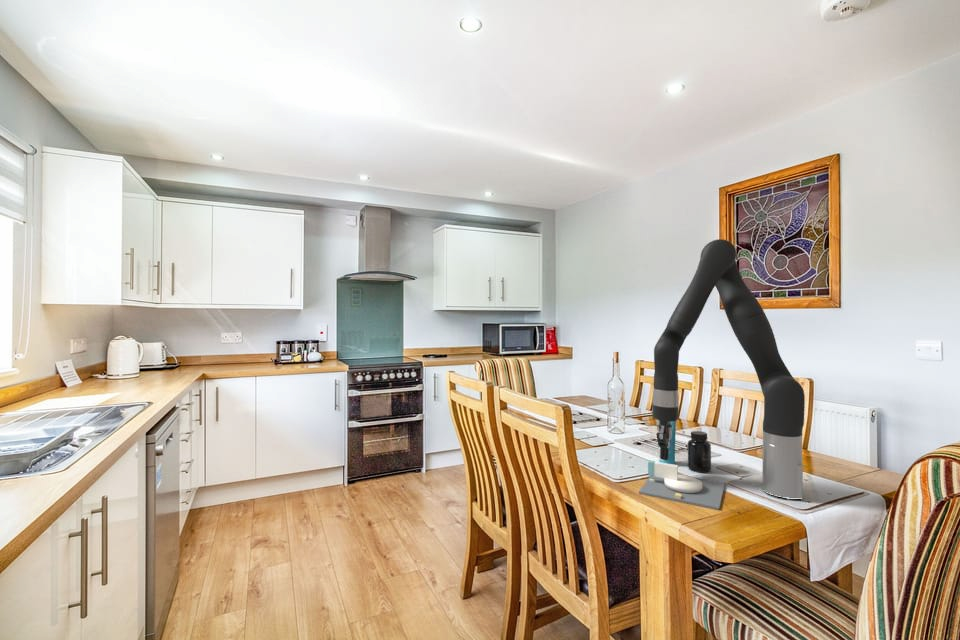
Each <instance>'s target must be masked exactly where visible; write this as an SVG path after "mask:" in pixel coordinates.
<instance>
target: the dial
mask: <svg viewBox="0 0 960 640" xmlns="http://www.w3.org/2000/svg"><path fill="white" fill-rule="evenodd" d="M678 474H679V465H677V464H674V465H673V464H667V463H661V462H659V461H655V460H648V462H647V476H648V477H650V476H653V477H660V478H664V484H665V486H666V487H668V488H670V489H672V490H675V491H679V492H684V493H697V492H700V491H702V482H701V481H700V480H698V479H696V478H697V477H696V478H694V476H690V475H685V474H679V475H678Z"/></svg>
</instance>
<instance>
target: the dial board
mask: <svg viewBox="0 0 960 640" xmlns="http://www.w3.org/2000/svg"><path fill="white" fill-rule="evenodd" d="M678 475H680V474H679V473H678ZM693 477H694V476H693ZM694 478H696V479H698V480H700V481H701V482H702V491H700V492H697V493H684V492H679V491H675V490H672V489H670V488H668V487H666V486H665V484H664V478H660V477H653V476H648V478H647V480H646V481H645V482H644V484H643V485H642V486H641V488H640V489H639V491H638V494H639V495H643V494H644V496H648V495H649V496H648V497H653V496H654V497H653V498H659V499H662V500H663V499H664V500H668V501H672V500H673V502H677V501H678V502H679V503H682V504H687V505H692V506H693V505H694V506H697V507H701V508H707V509H710V510H711V509H712V510H717V511H720V507H721V503H722V499H723V495H724V491H725V490H724V489H725V485H726V482H723V481H718V480H717V481H716V480H711V479H705V478H701V477H700V478H699V477H696V476H695V477H694Z"/></svg>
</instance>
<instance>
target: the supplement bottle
mask: <svg viewBox="0 0 960 640" xmlns="http://www.w3.org/2000/svg"><path fill="white" fill-rule="evenodd" d="M687 467H688V470H690V471H691V472H695V473H701V474H702V473H703V474H704V473H705V474H706V473H710V472H711V471H712V445H711V443H710V442H709V441H708V433H707V432H705V431H699V430H695V431H691V432H690V439H689V440H688V442H687Z"/></svg>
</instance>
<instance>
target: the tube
mask: <svg viewBox="0 0 960 640" xmlns="http://www.w3.org/2000/svg"><path fill="white" fill-rule="evenodd" d="M657 422H658V423H657V425H659V420H657ZM671 425H673V430H672V438H671V443H670V446H669V458H668V460H662V459H660V447H659V446H658V460H659V461H658V462H661V463H667V464H673V465H676V429H677V421H671Z"/></svg>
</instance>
